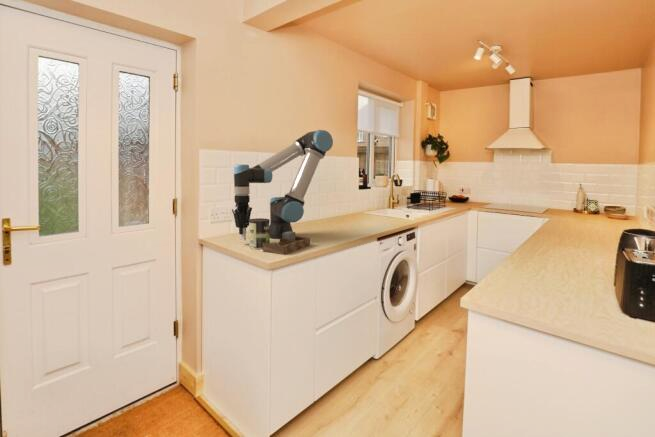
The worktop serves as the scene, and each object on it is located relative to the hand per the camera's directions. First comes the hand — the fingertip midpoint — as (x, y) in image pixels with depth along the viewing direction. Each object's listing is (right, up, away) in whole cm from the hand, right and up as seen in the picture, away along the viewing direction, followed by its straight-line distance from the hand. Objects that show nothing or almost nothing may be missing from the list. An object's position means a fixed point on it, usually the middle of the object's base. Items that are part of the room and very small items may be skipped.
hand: (242, 240), depth 189 cm
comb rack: (+24, -4, -7) cm, 25 cm away
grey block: (+24, -3, 0) cm, 24 cm away
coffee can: (+10, -3, -5) cm, 11 cm away
